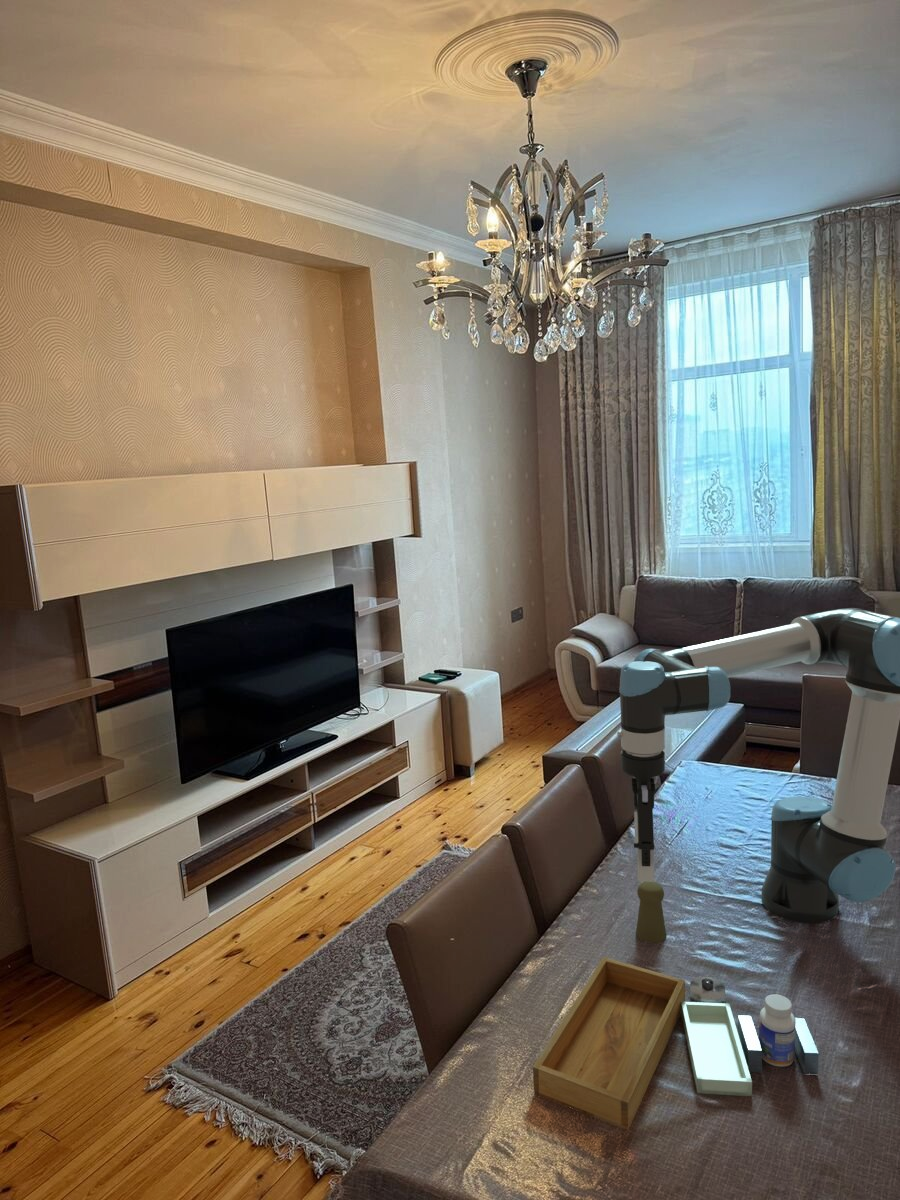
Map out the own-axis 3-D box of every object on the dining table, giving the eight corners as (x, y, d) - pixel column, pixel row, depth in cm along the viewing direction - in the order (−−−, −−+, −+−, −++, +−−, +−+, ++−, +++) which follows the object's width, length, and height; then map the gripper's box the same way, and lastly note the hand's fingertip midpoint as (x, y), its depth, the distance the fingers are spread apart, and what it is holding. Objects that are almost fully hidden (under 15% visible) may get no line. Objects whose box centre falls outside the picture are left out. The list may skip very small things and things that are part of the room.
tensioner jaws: (803, 1040, 137) (804, 1018, 136) (817, 1076, 129) (818, 1053, 128) (737, 1036, 138) (738, 1015, 138) (748, 1072, 131) (748, 1049, 130)
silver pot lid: (721, 987, 151) (721, 972, 151) (728, 1009, 145) (728, 993, 145) (687, 985, 152) (687, 970, 152) (692, 1007, 146) (692, 992, 146)
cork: (667, 944, 165) (667, 893, 163) (636, 942, 166) (635, 891, 164) (665, 927, 171) (665, 877, 169) (635, 925, 172) (634, 876, 170)
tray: (628, 1133, 121) (628, 1099, 120) (533, 1096, 129) (532, 1064, 128) (685, 1008, 147) (685, 979, 146) (603, 984, 154) (603, 956, 153)
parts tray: (729, 1016, 143) (729, 1003, 143) (751, 1096, 126) (752, 1081, 125) (681, 1014, 145) (681, 1001, 144) (697, 1093, 127) (697, 1078, 127)
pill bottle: (752, 1045, 136) (753, 992, 135) (784, 1042, 137) (785, 989, 135) (768, 1070, 131) (769, 1014, 129) (801, 1066, 131) (802, 1011, 130)
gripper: (619, 726, 159) (621, 829, 163) (622, 776, 135) (624, 897, 139) (659, 726, 158) (660, 830, 162) (670, 777, 134) (670, 899, 138)
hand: (643, 861), depth 150 cm, fingers open, 13 cm apart
